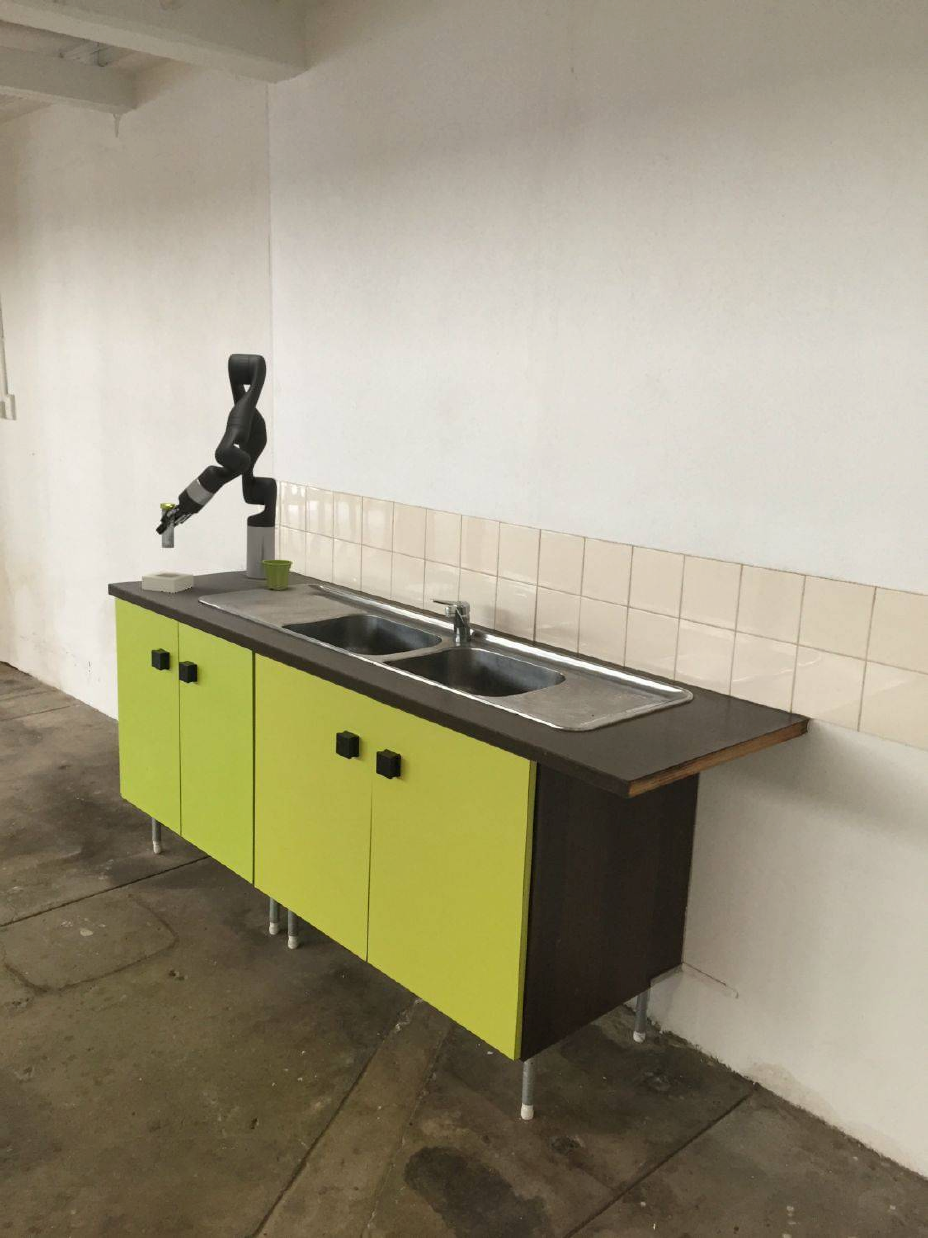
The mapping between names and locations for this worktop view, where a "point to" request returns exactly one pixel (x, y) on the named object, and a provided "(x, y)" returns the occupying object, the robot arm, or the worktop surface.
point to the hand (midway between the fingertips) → (162, 531)
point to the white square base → (167, 581)
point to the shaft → (169, 533)
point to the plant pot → (277, 573)
